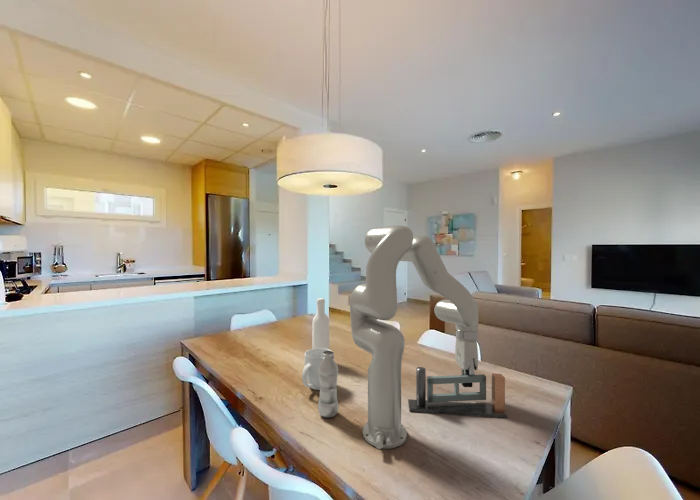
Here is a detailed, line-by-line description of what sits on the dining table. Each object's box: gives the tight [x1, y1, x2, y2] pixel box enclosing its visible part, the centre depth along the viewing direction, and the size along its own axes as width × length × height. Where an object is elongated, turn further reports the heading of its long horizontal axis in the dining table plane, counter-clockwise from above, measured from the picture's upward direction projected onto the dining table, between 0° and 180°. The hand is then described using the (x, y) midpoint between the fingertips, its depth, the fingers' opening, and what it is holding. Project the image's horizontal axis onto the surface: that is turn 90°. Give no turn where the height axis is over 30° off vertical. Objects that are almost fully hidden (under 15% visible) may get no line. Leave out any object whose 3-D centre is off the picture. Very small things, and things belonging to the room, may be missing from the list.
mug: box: [301, 348, 332, 391], centre depth 113 cm, size 15×11×13 cm
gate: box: [426, 374, 487, 402], centre depth 100 cm, size 20×2×8 cm, turn 94°
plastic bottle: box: [317, 350, 339, 418], centre depth 95 cm, size 6×7×20 cm
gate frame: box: [407, 366, 508, 419], centre depth 98 cm, size 6×30×13 cm, turn 83°
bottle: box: [311, 297, 330, 349], centre depth 138 cm, size 8×8×30 cm
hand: (467, 386), depth 104 cm, fingers closed
